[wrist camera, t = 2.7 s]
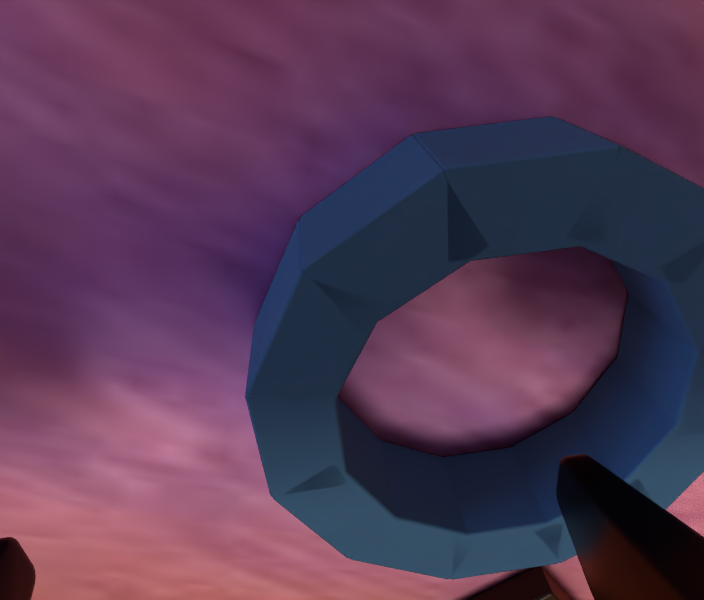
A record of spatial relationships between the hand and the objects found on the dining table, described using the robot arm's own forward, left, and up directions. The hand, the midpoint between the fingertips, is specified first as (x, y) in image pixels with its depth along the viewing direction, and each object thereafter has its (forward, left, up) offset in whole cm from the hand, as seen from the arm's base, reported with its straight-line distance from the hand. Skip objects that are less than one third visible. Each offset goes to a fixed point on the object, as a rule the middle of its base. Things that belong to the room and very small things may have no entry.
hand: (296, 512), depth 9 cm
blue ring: (+4, -2, -4) cm, 6 cm away
